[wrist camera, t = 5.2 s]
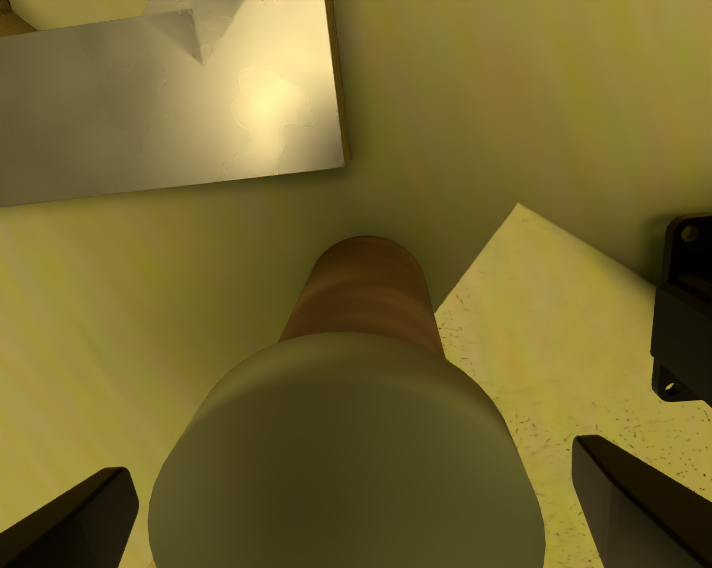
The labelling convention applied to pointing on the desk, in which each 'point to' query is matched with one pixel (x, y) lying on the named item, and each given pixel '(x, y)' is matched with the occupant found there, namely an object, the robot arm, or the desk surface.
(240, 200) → the desk surface
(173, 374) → the desk surface
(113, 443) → the desk surface
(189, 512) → the walnut peg
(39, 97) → the keyhole plate
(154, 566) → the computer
